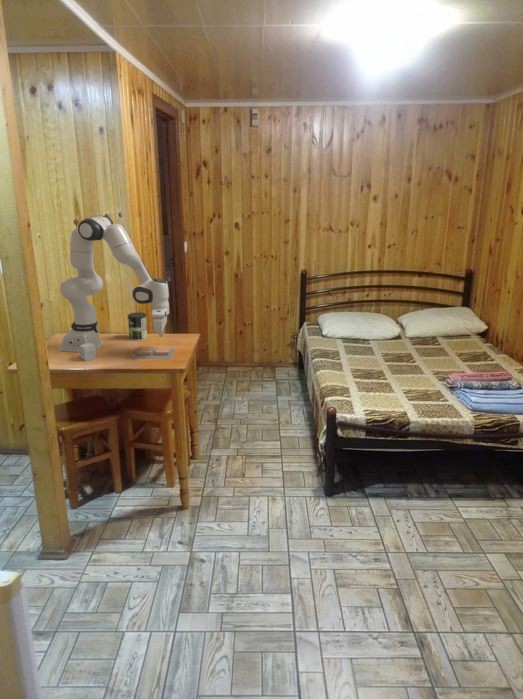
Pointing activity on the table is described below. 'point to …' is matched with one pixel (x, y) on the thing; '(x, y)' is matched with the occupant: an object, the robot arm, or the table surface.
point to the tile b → (162, 351)
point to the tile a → (145, 351)
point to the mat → (153, 355)
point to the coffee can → (137, 326)
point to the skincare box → (87, 351)
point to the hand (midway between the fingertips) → (161, 335)
